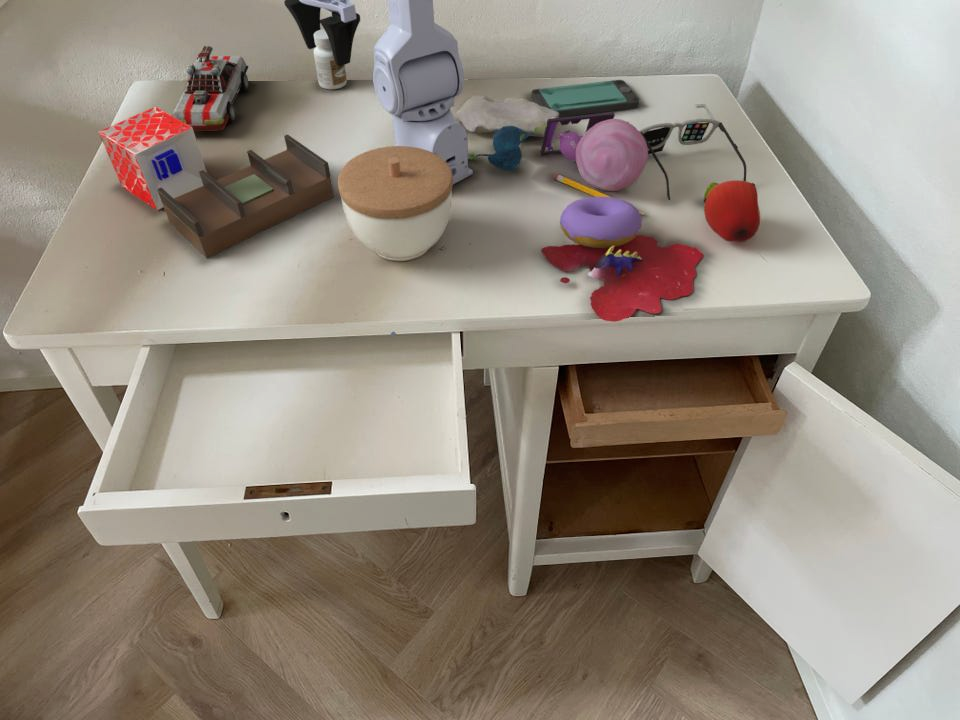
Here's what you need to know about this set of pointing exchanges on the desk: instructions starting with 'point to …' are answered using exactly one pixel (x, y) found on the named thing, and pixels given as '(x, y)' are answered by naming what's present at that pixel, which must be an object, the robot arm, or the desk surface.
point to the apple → (732, 209)
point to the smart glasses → (684, 137)
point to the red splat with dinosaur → (630, 274)
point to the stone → (503, 115)
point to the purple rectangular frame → (569, 133)
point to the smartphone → (587, 98)
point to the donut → (600, 222)
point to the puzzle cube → (154, 155)
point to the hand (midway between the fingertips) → (328, 55)
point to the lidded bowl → (397, 200)
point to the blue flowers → (508, 146)
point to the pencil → (582, 187)
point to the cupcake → (611, 155)
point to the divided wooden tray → (249, 198)
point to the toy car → (211, 91)
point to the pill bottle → (327, 63)
